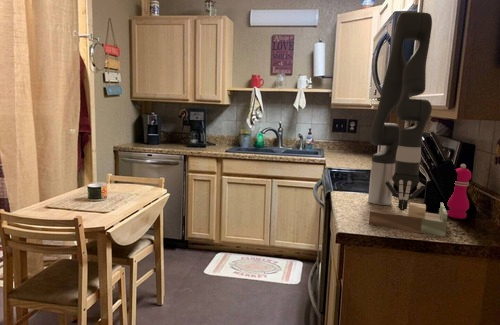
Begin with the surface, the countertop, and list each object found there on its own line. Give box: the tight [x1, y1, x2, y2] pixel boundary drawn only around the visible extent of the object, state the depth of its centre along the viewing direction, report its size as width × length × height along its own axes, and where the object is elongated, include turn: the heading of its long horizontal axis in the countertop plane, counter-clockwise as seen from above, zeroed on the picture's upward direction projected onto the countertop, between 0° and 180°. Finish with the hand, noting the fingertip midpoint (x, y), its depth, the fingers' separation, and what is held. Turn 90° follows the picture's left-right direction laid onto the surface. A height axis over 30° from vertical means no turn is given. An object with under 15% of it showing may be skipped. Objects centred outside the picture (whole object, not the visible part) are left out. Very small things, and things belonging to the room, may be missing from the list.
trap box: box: [368, 202, 448, 237], centre depth 127 cm, size 17×23×7 cm
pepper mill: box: [447, 163, 472, 220], centre depth 136 cm, size 7×7×20 cm
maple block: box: [407, 202, 427, 219], centre depth 122 cm, size 5×5×5 cm
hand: (402, 209), depth 125 cm, fingers closed
